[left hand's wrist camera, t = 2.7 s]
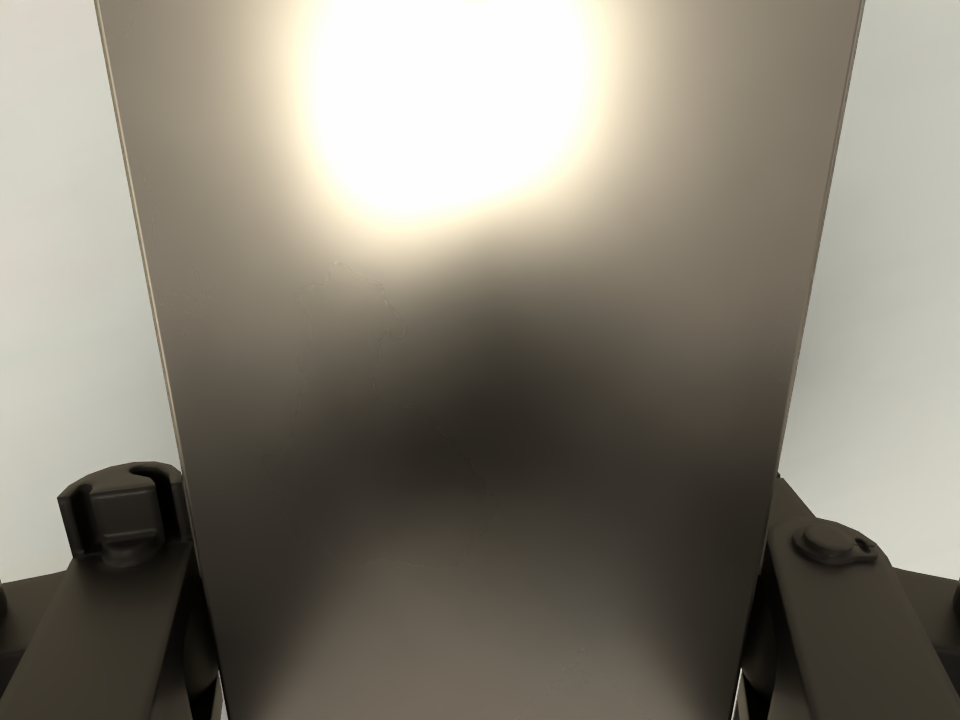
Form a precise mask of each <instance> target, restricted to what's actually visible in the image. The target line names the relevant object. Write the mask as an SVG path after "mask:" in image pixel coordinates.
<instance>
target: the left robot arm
mask: <svg viewBox="0 0 960 720" xmlns="http://www.w3.org/2000/svg"><path fill="white" fill-rule="evenodd" d="M57 500H58V504H59V507H60V511H61V515H62V518H63V522H64V526H65V530H66V533H67V537H68V541H69V544H70V548H71V552H72V555H73V559H72V561H71V563H70V564H69V566H68V568H67V570H65V571H62V572H58V573H54V574H48V575H43V576H38V577H33V578H28V579H23V580H18V581H13V582H8V583H3V584H1V580H0V720H220V718H221V710H222V703H223V698H222V691H221V684H220V679H219V674H218V671H219V667H218V662H217V657H216V651H215V646H214V641H213V635H212V630H211V624H210V619H209V614H208V608H207V603H206V598H205V592H204V587H203V582H202V576H201V571H200V566H199V560H198V555H197V550H196V544H195V539H194V534H193V528H192V523H191V517H190V512H189V507H188V501H187V496H186V491H185V485H184V480H183V475H181V472H180V471H179V470H177V469H176V468H175V467H173V466H172V465H169V464H164V463H159V462H132V463H127V464H122V465H117V466H111V467H108V468H105V469H103V470H100V471H97V472H94V473H91V474H89V475H87V476H85V477H83V478H81V479H80V480H78V481H76V482H74V483H73V484H71V485H69V486H68V487H67V488H66V489H65V490H64V491H63V492H62V493H61V494H60V495H59V496H58V497H57ZM741 668H742V674H741V679H740V684H739V690H738V695H737V700H736V706H735V711H734V716H733V720H960V579H959V581H957V580H952V579H947V578H942V577H937V576H932V575H927V574H921V573H916V572H911V571H906V570H902V569H898V568H894V567H892V565H891V563H890V561H889V559H888V557H887V556H886V555H885V554H884V552H883V551H882V550H881V549H880V548H879V546H878V545H877V544H876V543H875V542H873V541H872V540H870V539H869V538H867V537H866V536H864V535H863V534H861V533H860V532H859V531H856V530H854V529H852V528H849V527H847V526H844V525H842V524H840V523H837V522H833V521H829V520H825V519H820V518H816V517H815V516H814V514H813V513H812V512H811V511H810V510H809V509H808V507H807V506H806V505H805V504H804V503H803V501H802V500H801V499H800V498H799V497H798V495H797V494H796V493H795V492H794V491H793V489H792V488H791V487H790V486H789V485H788V483H787V482H786V481H785V480H784V479H783V478H780V474H779V473H778V471H777V476H776V482H775V487H774V492H773V498H772V503H771V509H770V514H769V519H768V525H767V530H766V535H765V541H764V546H763V551H762V557H761V562H760V567H759V573H758V578H757V584H756V589H755V594H754V600H753V605H752V610H751V616H750V621H749V626H748V632H747V637H746V643H745V648H744V653H743V659H742V664H741Z"/></svg>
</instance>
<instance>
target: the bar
mask: <svg viewBox="0 0 960 720" xmlns="http://www.w3.org/2000/svg"><path fill="white" fill-rule="evenodd" d="M94 4H95V9H96V15H97V20H98V25H99V31H100V36H101V41H102V47H103V52H104V57H105V63H106V68H107V73H108V79H109V84H110V90H111V95H112V100H113V106H114V111H115V116H116V122H117V127H118V132H119V138H120V143H121V148H122V154H123V159H124V164H125V170H126V175H127V180H128V186H129V191H130V197H131V202H132V207H133V213H134V218H135V223H136V229H137V234H138V239H139V245H140V250H141V255H142V261H143V266H144V271H145V277H146V282H147V287H148V293H149V298H150V304H151V309H152V314H153V320H154V325H155V330H156V336H157V341H158V346H159V352H160V357H161V362H162V368H163V373H164V378H165V384H166V389H167V394H168V400H169V405H170V410H171V416H172V421H173V427H174V432H175V437H176V443H177V448H178V453H179V459H180V464H181V469H182V475H183V480H184V485H185V491H186V496H187V501H188V507H189V512H190V517H191V523H192V528H193V534H194V539H195V544H196V550H197V555H198V560H199V566H200V571H201V576H202V582H203V587H204V592H205V598H206V603H207V608H208V614H209V619H210V624H211V630H212V635H213V641H214V646H215V651H216V657H217V662H218V667H219V673H220V678H221V683H222V689H223V694H224V699H225V705H226V710H227V715H228V720H731V718H732V712H733V707H734V701H735V696H736V691H737V685H738V680H739V675H740V669H741V664H742V659H743V653H744V648H745V643H746V637H747V632H748V626H749V621H750V616H751V610H752V605H753V600H754V594H755V589H756V584H757V578H758V573H759V567H760V562H761V557H762V551H763V546H764V541H765V535H766V530H767V525H768V519H769V514H770V509H771V503H772V498H773V492H774V487H775V482H776V476H777V471H778V466H779V460H780V455H781V450H782V444H783V439H784V434H785V428H786V423H787V417H788V412H789V407H790V401H791V396H792V391H793V385H794V380H795V375H796V369H797V364H798V359H799V353H800V348H801V342H802V337H803V332H804V326H805V321H806V316H807V310H808V305H809V300H810V294H811V289H812V284H813V278H814V273H815V267H816V262H817V257H818V251H819V246H820V241H821V235H822V230H823V225H824V219H825V214H826V209H827V203H828V198H829V192H830V187H831V182H832V176H833V171H834V166H835V160H836V155H837V150H838V144H839V139H840V134H841V128H842V123H843V117H844V112H845V107H846V101H847V96H848V91H849V85H850V80H851V75H852V69H853V64H854V59H855V53H856V48H857V42H858V37H859V32H860V26H861V21H862V16H863V10H864V5H865V0H94Z"/></svg>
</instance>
